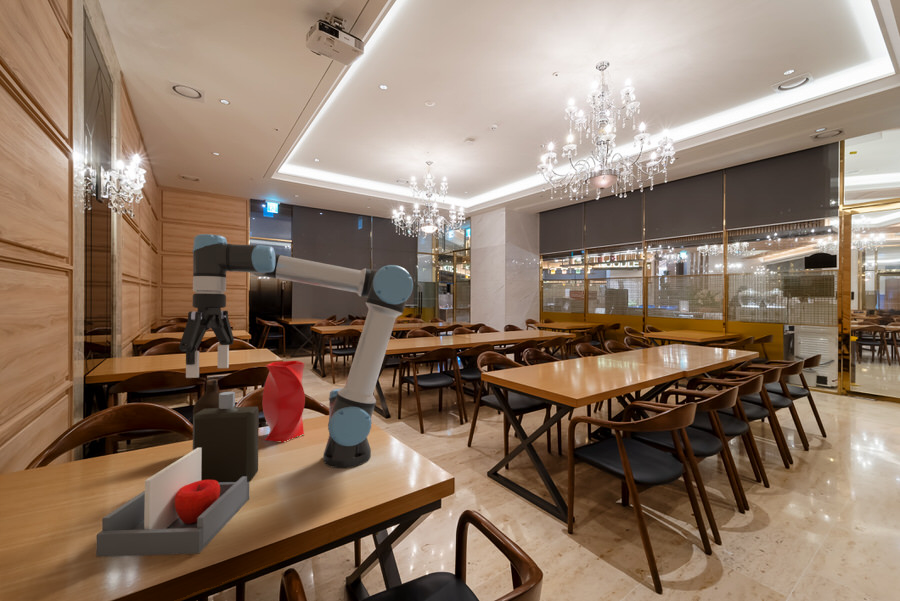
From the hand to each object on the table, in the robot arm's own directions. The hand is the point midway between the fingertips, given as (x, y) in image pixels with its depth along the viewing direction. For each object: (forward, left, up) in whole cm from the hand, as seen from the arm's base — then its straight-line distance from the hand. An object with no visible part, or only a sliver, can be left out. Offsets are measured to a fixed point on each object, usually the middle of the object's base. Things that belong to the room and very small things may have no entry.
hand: (208, 372), depth 98 cm
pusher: (+2, +13, -31) cm, 34 cm away
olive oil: (+15, -28, -33) cm, 46 cm away
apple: (-5, +13, -32) cm, 35 cm away
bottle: (0, -9, -33) cm, 34 cm away
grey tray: (-2, +13, -33) cm, 35 cm away
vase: (-4, -44, -33) cm, 55 cm away
